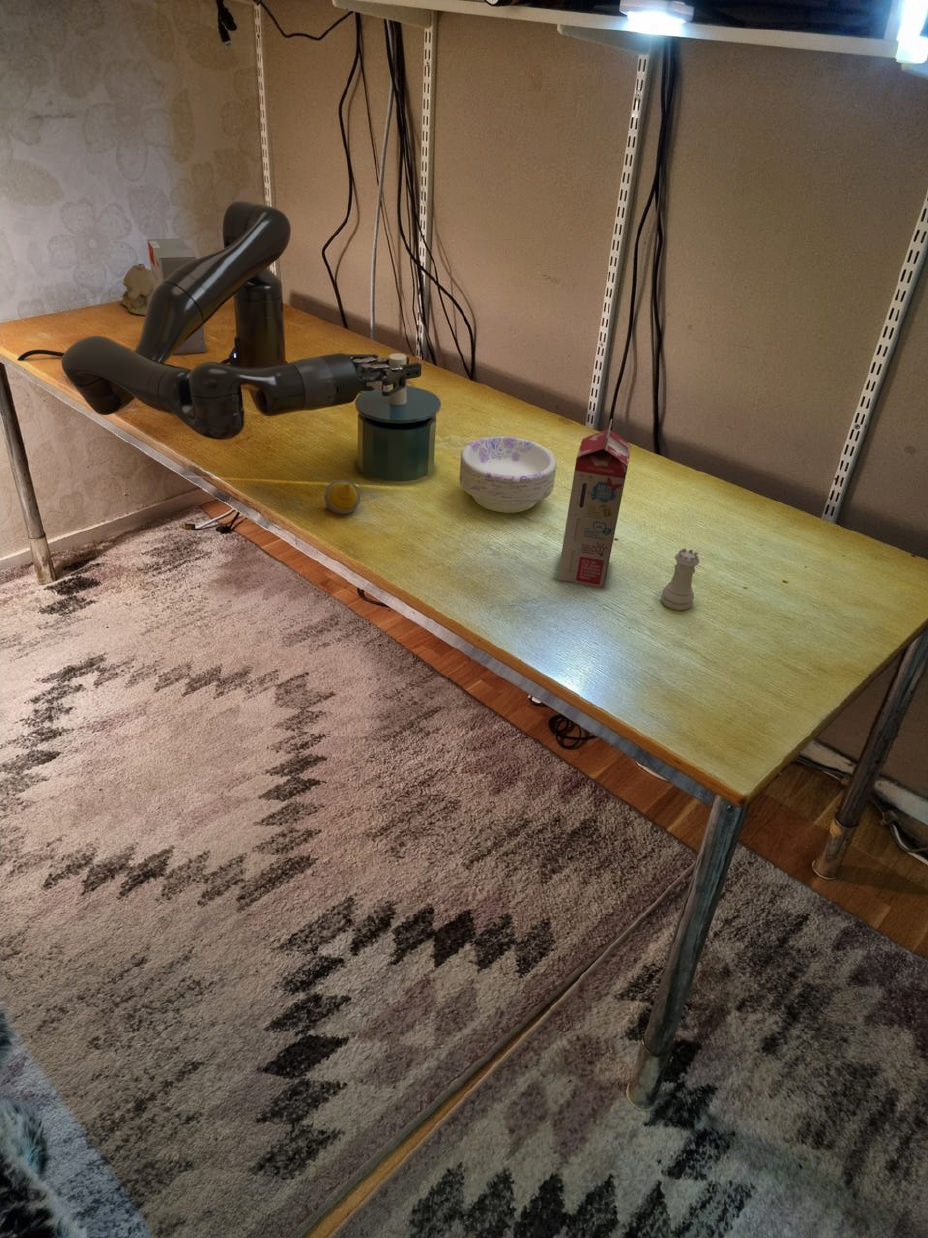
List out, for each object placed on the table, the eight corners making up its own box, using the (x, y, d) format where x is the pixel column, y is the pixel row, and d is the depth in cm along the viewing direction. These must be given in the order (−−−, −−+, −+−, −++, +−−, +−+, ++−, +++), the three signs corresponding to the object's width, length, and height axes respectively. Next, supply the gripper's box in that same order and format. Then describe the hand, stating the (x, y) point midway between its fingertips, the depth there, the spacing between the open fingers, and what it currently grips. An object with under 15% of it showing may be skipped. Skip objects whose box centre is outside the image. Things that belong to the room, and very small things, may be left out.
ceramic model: (183, 310, 210) (178, 267, 205) (140, 318, 203) (134, 273, 197) (151, 296, 218) (146, 254, 212) (109, 303, 211) (103, 260, 205)
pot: (355, 482, 143) (355, 427, 138) (360, 449, 153) (360, 397, 148) (433, 486, 144) (436, 432, 138) (433, 453, 154) (436, 402, 149)
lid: (350, 425, 137) (347, 370, 132) (360, 390, 148) (358, 339, 143) (438, 428, 137) (440, 374, 132) (442, 394, 148) (443, 342, 143)
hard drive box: (158, 332, 196) (146, 238, 185) (193, 330, 199) (183, 237, 187) (170, 355, 185) (158, 256, 173) (207, 352, 188) (197, 255, 176)
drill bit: (363, 504, 138) (374, 486, 128) (338, 526, 136) (347, 509, 127) (340, 479, 137) (349, 459, 128) (315, 500, 136) (322, 481, 126)
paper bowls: (491, 530, 133) (496, 483, 128) (440, 488, 143) (443, 444, 139) (569, 511, 140) (577, 466, 136) (515, 472, 150) (521, 429, 146)
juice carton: (608, 564, 127) (636, 422, 115) (603, 587, 122) (632, 441, 109) (563, 556, 128) (586, 414, 116) (557, 579, 123) (580, 433, 110)
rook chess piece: (656, 593, 122) (668, 544, 117) (686, 593, 122) (699, 544, 118) (664, 611, 118) (677, 561, 114) (696, 612, 119) (710, 562, 114)
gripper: (298, 391, 138) (389, 374, 147) (344, 422, 129) (438, 403, 138) (296, 344, 133) (390, 330, 143) (344, 373, 125) (441, 356, 134)
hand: (413, 366), depth 140 cm, fingers closed on lid, 3 cm apart
